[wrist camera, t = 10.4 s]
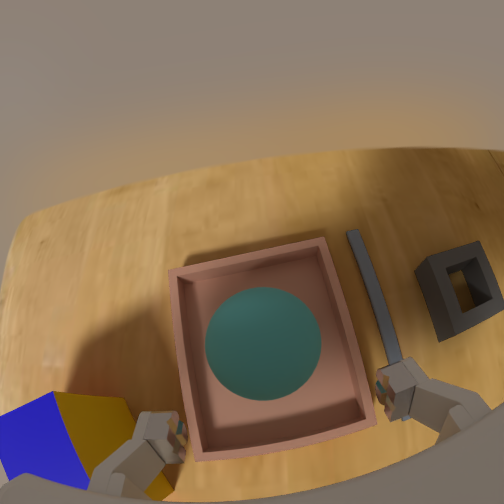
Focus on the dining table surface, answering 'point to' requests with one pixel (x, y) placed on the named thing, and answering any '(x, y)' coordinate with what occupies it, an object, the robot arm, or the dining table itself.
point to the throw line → (376, 299)
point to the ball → (263, 343)
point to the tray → (291, 406)
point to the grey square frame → (443, 295)
